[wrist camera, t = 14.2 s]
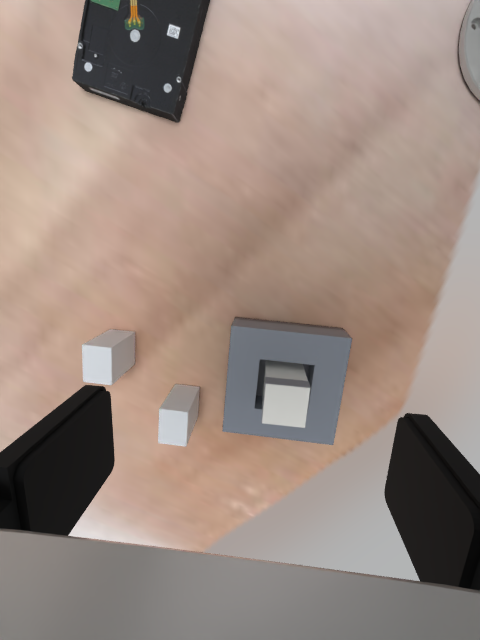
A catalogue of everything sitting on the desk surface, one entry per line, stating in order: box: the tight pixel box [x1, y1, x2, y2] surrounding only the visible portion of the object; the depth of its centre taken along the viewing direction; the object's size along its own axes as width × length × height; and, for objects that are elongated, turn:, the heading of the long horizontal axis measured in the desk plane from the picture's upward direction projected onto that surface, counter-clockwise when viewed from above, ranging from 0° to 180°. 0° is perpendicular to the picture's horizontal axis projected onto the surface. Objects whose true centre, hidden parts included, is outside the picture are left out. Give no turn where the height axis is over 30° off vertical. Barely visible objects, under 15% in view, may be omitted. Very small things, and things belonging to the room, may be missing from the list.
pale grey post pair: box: [82, 329, 200, 446], centre depth 36 cm, size 11×10×6 cm
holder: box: [223, 317, 352, 445], centre depth 35 cm, size 12×12×4 cm
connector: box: [261, 360, 311, 428], centre depth 33 cm, size 4×4×7 cm
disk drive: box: [72, 0, 210, 122], centre depth 30 cm, size 10×3×15 cm
